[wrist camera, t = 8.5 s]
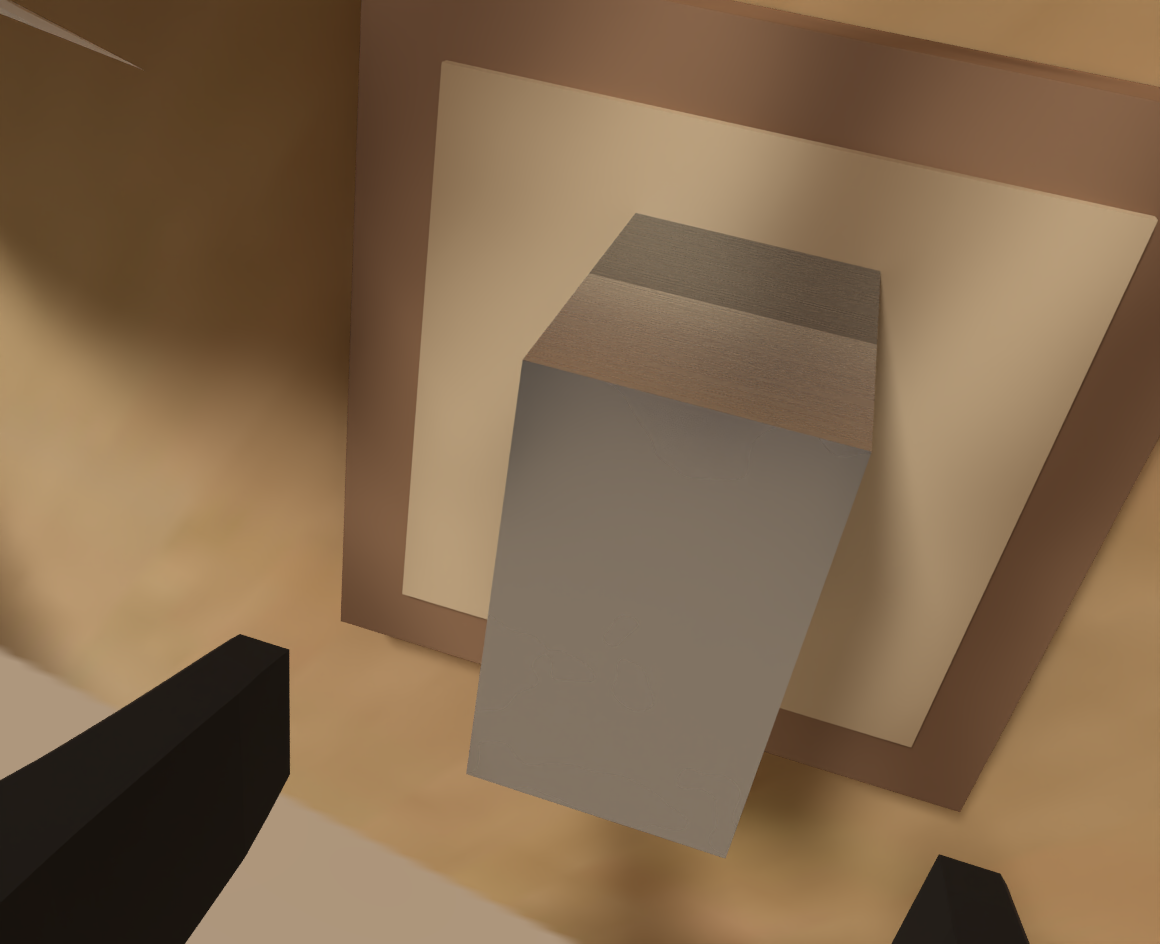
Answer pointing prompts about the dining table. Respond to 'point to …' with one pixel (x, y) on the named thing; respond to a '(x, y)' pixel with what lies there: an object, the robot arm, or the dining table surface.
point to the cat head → (49, 26)
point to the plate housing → (671, 524)
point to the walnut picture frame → (788, 220)
